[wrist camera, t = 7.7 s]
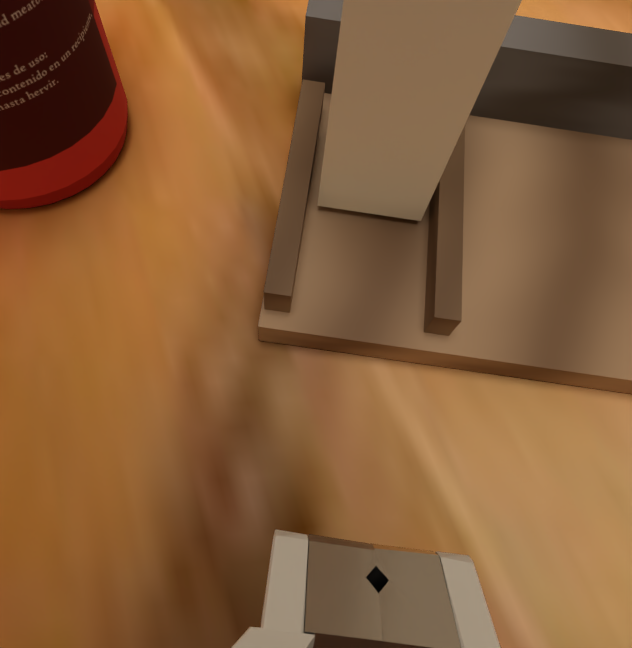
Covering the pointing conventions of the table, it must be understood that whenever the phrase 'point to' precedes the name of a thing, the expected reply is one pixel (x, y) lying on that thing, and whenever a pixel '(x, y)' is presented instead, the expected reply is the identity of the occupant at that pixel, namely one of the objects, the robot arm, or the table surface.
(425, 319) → the board
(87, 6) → the canned food
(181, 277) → the table surface
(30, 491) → the table surface
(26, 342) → the table surface
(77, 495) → the table surface
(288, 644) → the robot arm
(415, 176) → the cream tall block
